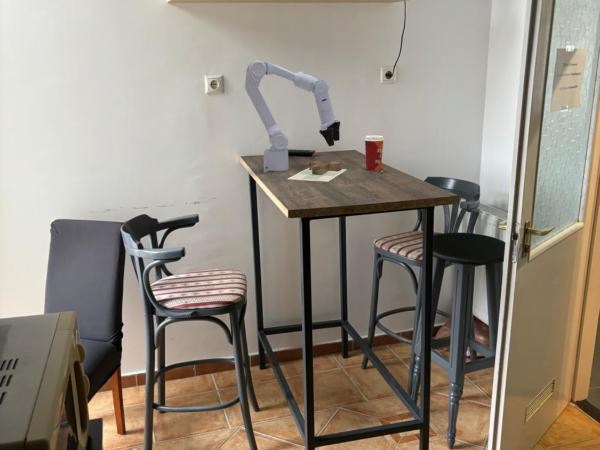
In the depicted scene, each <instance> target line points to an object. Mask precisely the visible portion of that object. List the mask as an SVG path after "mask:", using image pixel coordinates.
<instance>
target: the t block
mask: <svg viewBox="0 0 600 450" xmlns="http://www.w3.org/2000/svg"><path fill="white" fill-rule="evenodd" d="M308 168H309V170H312V174H317V175H323V174H324V173H326V172H328V171H338V172H339V171H340V170H341V169H342V162H341V161H327V160H326V161H324V160H311V161H310V162H309V164H308Z"/></svg>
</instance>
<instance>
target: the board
mask: <svg viewBox="0 0 600 450" xmlns="http://www.w3.org/2000/svg"><path fill="white" fill-rule="evenodd" d="M347 170H348V169H346V168H345V169H344V168H341V170H340V171H339V172H338V171H328V172H326V173H324V174H323V175H317V174H312V170H309V167H307V168H305V169H304V170H301V171H300V172H298V173H296V174H294V175H292V176H290V177H288V178H287V180H291V181H295V180H296V181H311V182H314V184H317V185H318V184H319V183H318V182H331V180H333V179H335V178H336V177H338V176H339V175H341V174H343V173H344V172H345V171H347ZM315 182H317V183H315ZM298 183H302V182H298Z"/></svg>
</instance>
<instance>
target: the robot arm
mask: <svg viewBox="0 0 600 450" xmlns="http://www.w3.org/2000/svg"><path fill="white" fill-rule="evenodd" d="M265 75H267V76H271V75H275V76H278V77H281V78H284V79H286V80H288V81H292V82H293V84H294V87H297V88H300V89H303V90H305V91H307V92H312V93H313V94H314V95H313V96H314V99H315V105H316V107H317V111H318V115H319V119H320V129H319V134H320V135H321V136H322V137H323V138H324V140H325V142H326V144H327V145H328V147H334V146H335V142H337V141H340V136H341V135H340V128H341V121H339V118H337V116H336V115H335V113H334V108H333V105H332V100H331V98H330V95H329V85H328V83H327V82H326V81H325V80H321V79H320V78H318V77H317V76H316V75H315V76H312V75H310V74H307V72H306V71H298V72H296V73H295V72H292V71H291V70H288V69H287V68H284V67H282V66H279V65H278V64H274V63H272V62H266V61H263V60H260V59H255V60H252V61H250V62H249V64H248V65H247V68H246V70H245V79H244V81H245V82H244V88H245V89H244V90H245V91H246V93H247V95H248V97H249V99H250V101H251V103H252V105H253V107H254V108H255V110H256V113H257V114H258V116H259V118H260V120H261V122H262V124H263V125H264V128H265V129H266V132H267V134H268V136H269V142H270V145H271V147H269V149H268V148H267V149H265V150H264V152H263V174H264V173H267V172H269V171H272V172H286V171H288V170H289V148H288V145H289V139H288V137H287V136H286V135H285V134H284V133H283V132H282V131H281V129H280V127H279V126H278V124H277V122H276V120H275V118H274V117H273V114H272V112H271V111H270V109H269V106H268V105H267V102H266V101H265V99H264V97H263V95H262V93H261V90H260V89H259V87H260V85H261V84H260V83H261V80H262V79H263V78H264V76H265Z"/></svg>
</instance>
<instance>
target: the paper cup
mask: <svg viewBox="0 0 600 450" xmlns="http://www.w3.org/2000/svg"><path fill="white" fill-rule="evenodd" d="M363 140H364V145H365V146H364V148H365V149H364V151H365V168H366V169H365V170H366V171H371V172H375V171H376V172H377V174H380V173H381V172H382V163H383V150H384V141H385V138H384V135H378V134H377V135H376V134H371V135H365V137H364V139H363Z"/></svg>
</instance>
